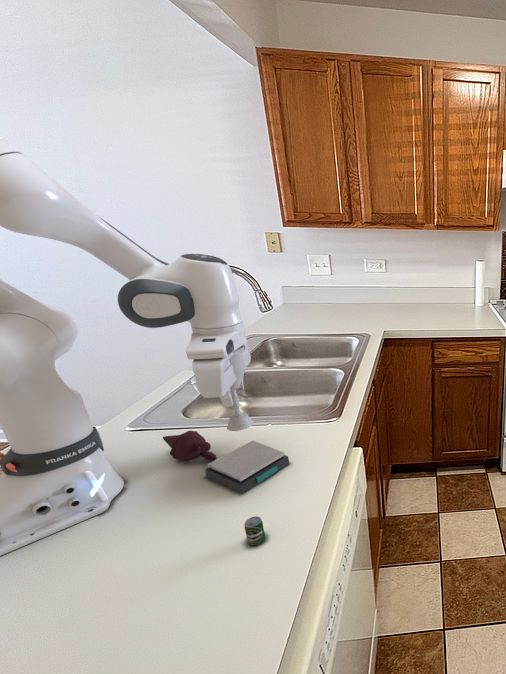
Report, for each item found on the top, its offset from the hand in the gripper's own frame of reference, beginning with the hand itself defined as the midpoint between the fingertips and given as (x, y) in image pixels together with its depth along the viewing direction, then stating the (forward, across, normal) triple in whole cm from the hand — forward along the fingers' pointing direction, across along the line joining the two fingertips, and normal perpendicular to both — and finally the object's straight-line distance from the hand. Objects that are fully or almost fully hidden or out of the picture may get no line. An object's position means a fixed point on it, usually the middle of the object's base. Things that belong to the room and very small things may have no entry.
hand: (234, 398), depth 85 cm
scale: (+19, 0, 0) cm, 19 cm away
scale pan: (+16, 0, 0) cm, 16 cm away
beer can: (+19, +23, +7) cm, 30 cm away
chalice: (+7, 0, 0) cm, 7 cm away
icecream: (+19, -9, -15) cm, 25 cm away
